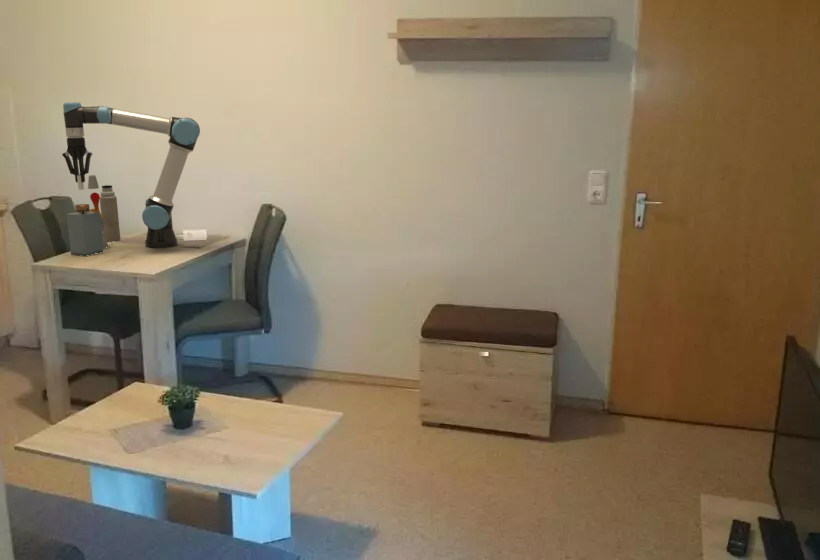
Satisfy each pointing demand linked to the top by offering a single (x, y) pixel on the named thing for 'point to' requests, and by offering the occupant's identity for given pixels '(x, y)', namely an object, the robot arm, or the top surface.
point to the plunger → (82, 208)
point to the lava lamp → (97, 205)
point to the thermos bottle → (110, 214)
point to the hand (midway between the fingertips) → (81, 189)
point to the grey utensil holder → (85, 233)
